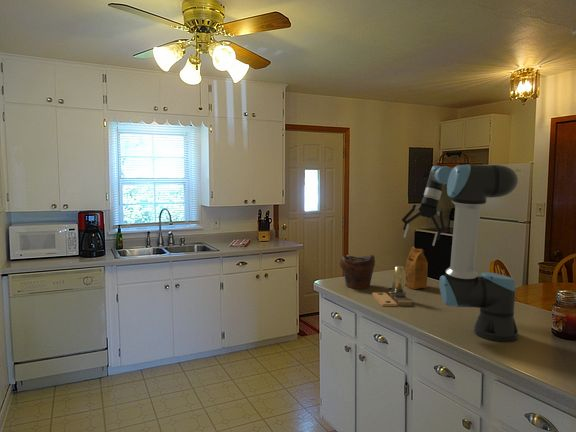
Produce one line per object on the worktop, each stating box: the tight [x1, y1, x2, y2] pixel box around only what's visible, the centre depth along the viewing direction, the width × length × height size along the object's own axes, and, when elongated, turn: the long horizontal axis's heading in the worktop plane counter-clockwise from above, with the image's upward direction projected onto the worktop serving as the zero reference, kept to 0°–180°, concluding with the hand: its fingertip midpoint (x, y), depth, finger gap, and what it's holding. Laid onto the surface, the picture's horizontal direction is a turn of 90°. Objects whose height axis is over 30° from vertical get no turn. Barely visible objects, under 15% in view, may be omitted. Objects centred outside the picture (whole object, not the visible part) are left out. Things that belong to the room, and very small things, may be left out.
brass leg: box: [389, 265, 407, 297], centre depth 209 cm, size 6×7×14 cm
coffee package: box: [404, 246, 429, 290], centre depth 234 cm, size 10×12×22 cm
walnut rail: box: [385, 281, 413, 307], centre depth 208 cm, size 20×8×7 cm, turn 2°
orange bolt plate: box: [371, 292, 398, 307], centre depth 208 cm, size 20×7×1 cm, turn 2°
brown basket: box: [339, 254, 376, 290], centre depth 235 cm, size 18×20×18 cm
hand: (418, 241), depth 201 cm, fingers open, 13 cm apart
